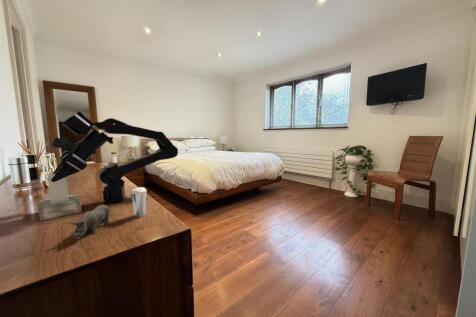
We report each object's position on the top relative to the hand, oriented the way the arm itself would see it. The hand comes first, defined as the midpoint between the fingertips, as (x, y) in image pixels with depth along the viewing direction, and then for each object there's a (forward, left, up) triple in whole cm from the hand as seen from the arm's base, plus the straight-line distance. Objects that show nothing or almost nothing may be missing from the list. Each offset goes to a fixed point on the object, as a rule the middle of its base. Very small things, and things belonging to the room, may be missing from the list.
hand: (52, 179), depth 65 cm
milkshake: (-28, +9, -12) cm, 32 cm away
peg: (-1, -1, -12) cm, 12 cm away
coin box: (-1, -1, -12) cm, 12 cm away
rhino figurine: (-19, +18, -12) cm, 29 cm away
